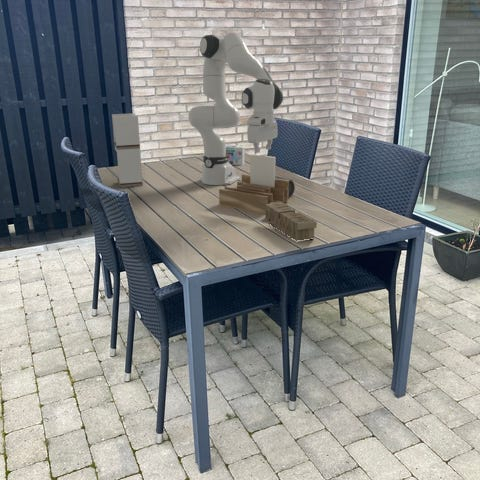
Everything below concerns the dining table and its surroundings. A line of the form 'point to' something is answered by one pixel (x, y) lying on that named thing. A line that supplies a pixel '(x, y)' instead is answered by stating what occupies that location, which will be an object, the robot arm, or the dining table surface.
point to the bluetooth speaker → (291, 185)
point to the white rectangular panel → (262, 170)
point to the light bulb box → (235, 154)
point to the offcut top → (254, 188)
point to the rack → (253, 196)
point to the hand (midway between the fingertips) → (263, 150)
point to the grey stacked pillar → (127, 149)
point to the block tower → (290, 221)
